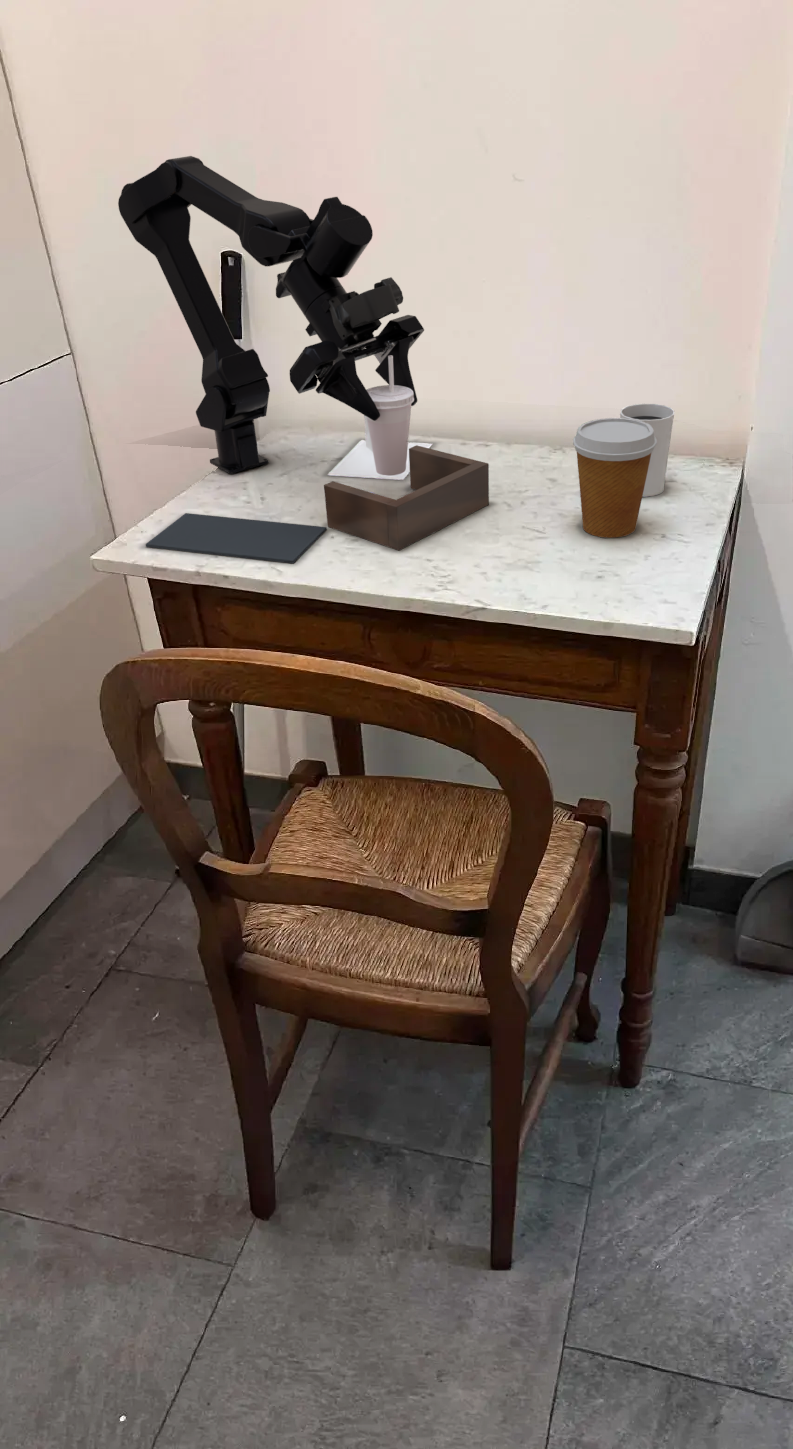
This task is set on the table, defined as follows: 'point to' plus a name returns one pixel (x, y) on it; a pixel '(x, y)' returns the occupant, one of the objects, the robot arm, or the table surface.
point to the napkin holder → (367, 460)
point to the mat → (237, 537)
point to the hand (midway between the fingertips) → (396, 411)
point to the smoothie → (390, 425)
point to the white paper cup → (662, 428)
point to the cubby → (412, 500)
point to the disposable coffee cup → (612, 473)
